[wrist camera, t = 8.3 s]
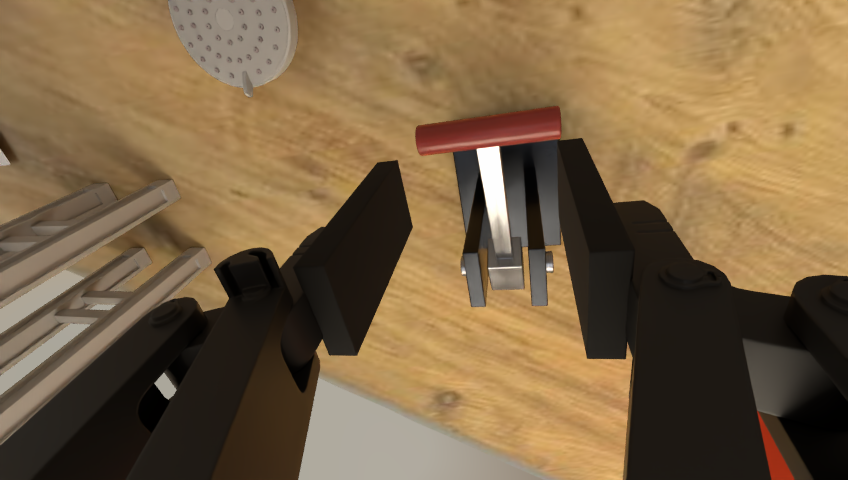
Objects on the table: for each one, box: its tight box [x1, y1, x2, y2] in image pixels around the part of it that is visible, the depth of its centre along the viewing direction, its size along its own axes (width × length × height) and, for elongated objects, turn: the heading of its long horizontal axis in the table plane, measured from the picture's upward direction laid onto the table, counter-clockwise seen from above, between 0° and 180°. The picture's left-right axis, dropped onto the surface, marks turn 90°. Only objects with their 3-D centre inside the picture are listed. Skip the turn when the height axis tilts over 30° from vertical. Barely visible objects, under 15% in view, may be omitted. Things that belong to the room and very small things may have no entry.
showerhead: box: [168, 0, 298, 97], centre depth 31 cm, size 9×7×10 cm
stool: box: [0, 180, 211, 445], centre depth 34 cm, size 16×16×35 cm
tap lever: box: [415, 106, 561, 290], centre depth 23 cm, size 13×6×2 cm, turn 10°
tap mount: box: [453, 139, 561, 307], centre depth 32 cm, size 12×9×15 cm
